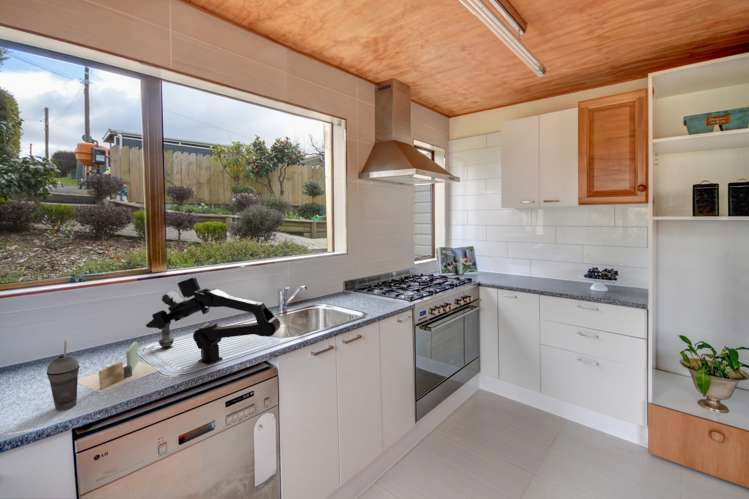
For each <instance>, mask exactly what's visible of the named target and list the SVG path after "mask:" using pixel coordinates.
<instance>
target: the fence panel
mask: <svg viewBox="0 0 749 499" xmlns="http://www.w3.org/2000/svg"><path fill="white" fill-rule="evenodd" d="M125 352H126V354H125V355H126V364H127V366H132V371H133V369H134V368H135V366H136V364H137V363H138V361H139V353H138V352H139V350H138V341H137V340H136V341H133V342H132V343H131V345H130V346H129V347H128V349H127V350H126V351H125Z"/></svg>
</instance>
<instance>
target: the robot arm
mask: <svg viewBox="0 0 749 499" xmlns="http://www.w3.org/2000/svg"><path fill="white" fill-rule="evenodd" d="M176 285H177V287H178V289H179V291H180V293H181V295H182V297H183V298H187V299H185V300H183V299H182V297H181V296H180V295H179V294H178V293H177V292H176V291H174V290H171V291H168V292H167V293H165V294H164V295H162V297H161V301H162V302H163V303H164V304H165V305H167V306H168V307H167V309H168V311H169V312H167V311H166V310H163V309H162V310H160V311H157V312H155V313H153V314H152V315H151V316H152V318H153V319H151V320H150V321H149V322H148V323H146V324H145V326H146V328H150V329H158V330H162V329H163V328H165V327H167V326H169V327H170V326H171V323H172V321H174V322H178V321H180V320H183V319H185V318H187V317H189V316H191V315H194V314H196V313H198V312H201V313H202V315H205V314H207V313H209V312H210V309H211V308H222V307H223V308H224V307H225V308H230V309H232V310H233V309H234V310H237V311H238V310H239V311H242V312H247V313H251V314H253V315H254V317H255V318H254V319H255V320H256V322H250V323H241V324H234V325H233V324H231V325H223V326H219V325H218V322H211V323H210V322H207V323H205V324H204V325H202V326H200V327H199V328H198V329H196V330H195V331H194V332H193V333H192V334H193V335H192V338H193V340H194V342H195V344H196V347H197V348H198V350H200V356H201V358H200V359H198V360H197V361H198V363H203V364H206V365H212V364H214V363H216V362H219V361H221V360H223V359H224V358H223V357H222V356H220V345H219V343H221V341H222V339H223V338H233V337H234V338H235V337H241V336H250V335H251V336H253V335H255V336H258V337H267V338H268V337H273V335H275V333H277V332H278V331H279V329H280V327H281V321H280V320H279V318H277V317H276V315H275V314H274V313H273V312H272V311H271V310H270V309H269V308H267V306H266V304H265V303H264V302H261V301H256V300H250V299H246V298H241V297H236V296H232V295H230V294H228V293H227V292H225V291H222V290H221V289H219V288H213V289H210V288H205V287H204V288H201V287H200V285H199V282H198V280H197V277H196V276H193V277H191V278H188V279H185V280H181V281H179V282H178V283H176ZM189 298H190V299H189Z"/></svg>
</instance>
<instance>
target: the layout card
mask: <svg viewBox="0 0 749 499" xmlns="http://www.w3.org/2000/svg"><path fill="white" fill-rule="evenodd" d="M126 366H127V363H124V364H123V368H124V367H126ZM153 366H154V365H152V364H148V363H145V362H141V361H139V360H138V363H137V364H136V366H135V368H134V369H133V371H132V376H131V377H124V371H123V379H122V380H120V381H118V382H116V383H114V384H112V385H110V386H108V387H106V388H103V389H100V382H99V372H97V373H94V374H91V375H88V376H85V377H83V378H82V377H81V378H79V379H78V381H77V385H78V384H79V385H81V386H83V387H85V388H88V389H90V390H92V391H95V392H97V393H98V394H99V393H103V392H106V391H108V390H111V389H114V388H116V387H119V386H122V385H125V384H127V383H130V382H133V381H135V380H137V379H140V378H143V377H145V376H149V375H151V374H153V373H156V372H159V371H158V370H157V369H156V368H154V367H155V366H154V367H153Z"/></svg>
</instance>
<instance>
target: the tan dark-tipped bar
mask: <svg viewBox="0 0 749 499" xmlns="http://www.w3.org/2000/svg"><path fill="white" fill-rule="evenodd" d="M123 365H124V364H123V361H118V362H117V363H114V364H112V365H109V366H107V367H104V368H102V369H99V371H98V373H99V382H100V389H103V388H106V387H108V386H110V385H112V384H114V383H116V382H118V381H120V380H122V379H123V371H124V377H131V376H132V366H126V367H124V368H123Z"/></svg>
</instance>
